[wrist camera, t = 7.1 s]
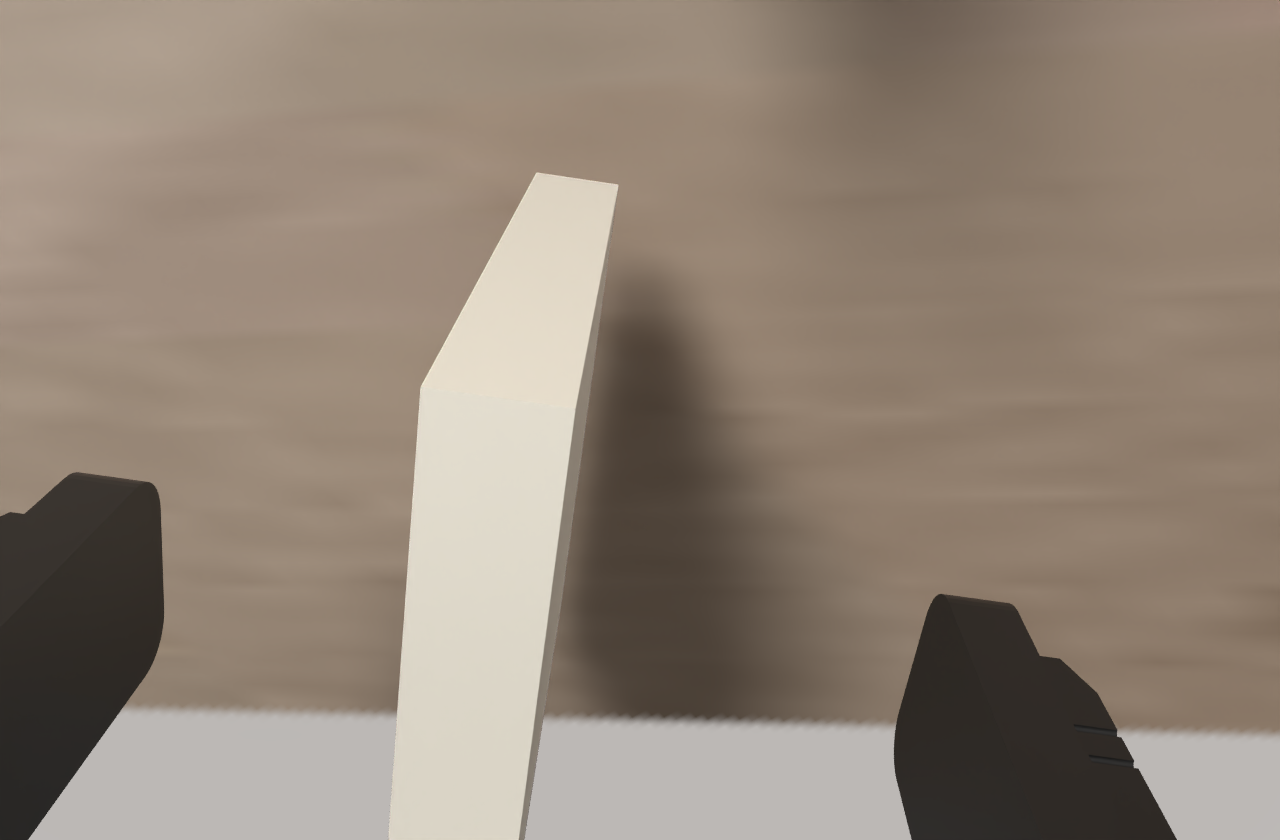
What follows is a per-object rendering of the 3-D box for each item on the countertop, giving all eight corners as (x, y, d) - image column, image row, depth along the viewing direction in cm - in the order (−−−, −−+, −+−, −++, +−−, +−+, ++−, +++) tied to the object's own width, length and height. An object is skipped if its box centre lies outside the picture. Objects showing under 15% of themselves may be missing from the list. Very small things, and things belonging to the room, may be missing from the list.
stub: (528, 171, 14) (405, 384, 7) (618, 184, 14) (574, 409, 7) (483, 592, 16) (362, 1034, 10) (561, 602, 16) (491, 1049, 10)
